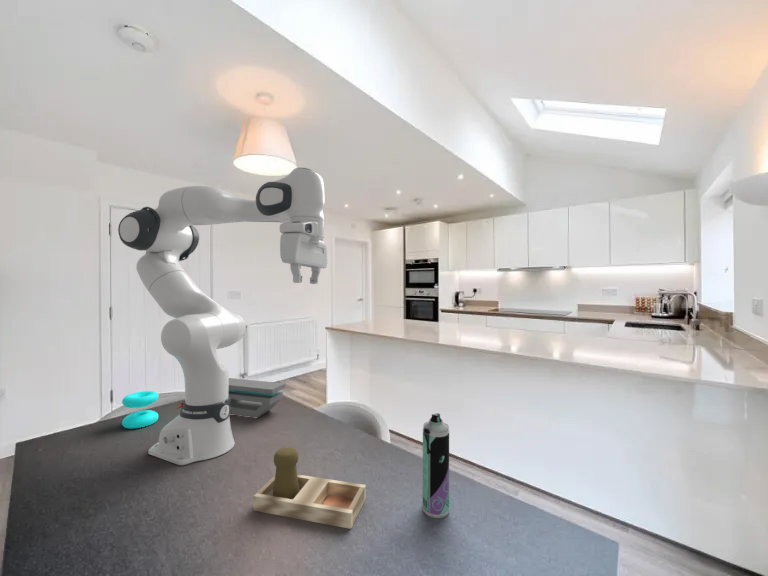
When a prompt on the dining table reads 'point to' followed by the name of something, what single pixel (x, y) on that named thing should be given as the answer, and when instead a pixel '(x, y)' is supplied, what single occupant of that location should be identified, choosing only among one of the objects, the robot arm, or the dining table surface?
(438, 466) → the spray can
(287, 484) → the olive round-headed peg
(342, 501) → the socket rail
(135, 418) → the donuts
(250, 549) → the dining table surface
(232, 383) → the grey lidded container
